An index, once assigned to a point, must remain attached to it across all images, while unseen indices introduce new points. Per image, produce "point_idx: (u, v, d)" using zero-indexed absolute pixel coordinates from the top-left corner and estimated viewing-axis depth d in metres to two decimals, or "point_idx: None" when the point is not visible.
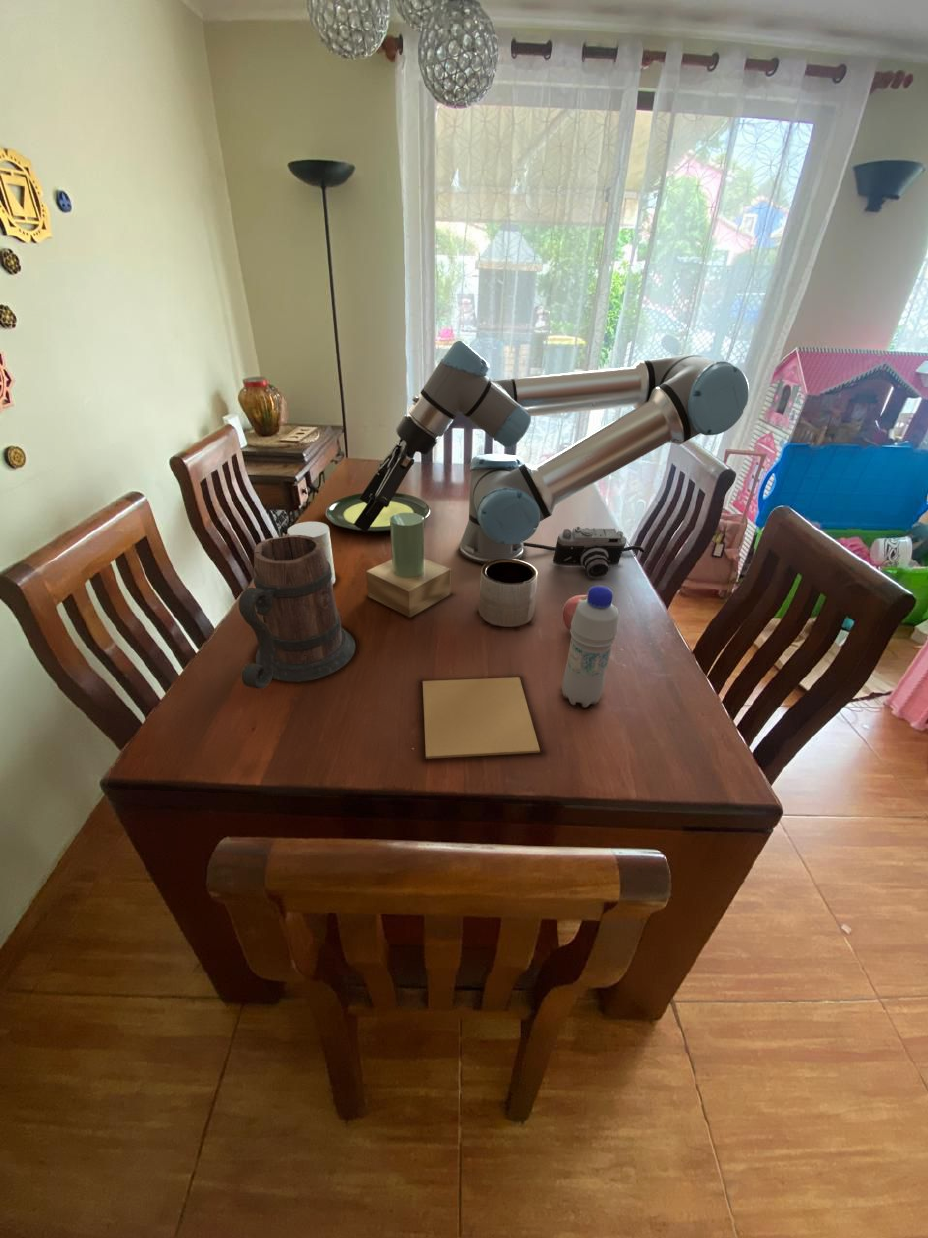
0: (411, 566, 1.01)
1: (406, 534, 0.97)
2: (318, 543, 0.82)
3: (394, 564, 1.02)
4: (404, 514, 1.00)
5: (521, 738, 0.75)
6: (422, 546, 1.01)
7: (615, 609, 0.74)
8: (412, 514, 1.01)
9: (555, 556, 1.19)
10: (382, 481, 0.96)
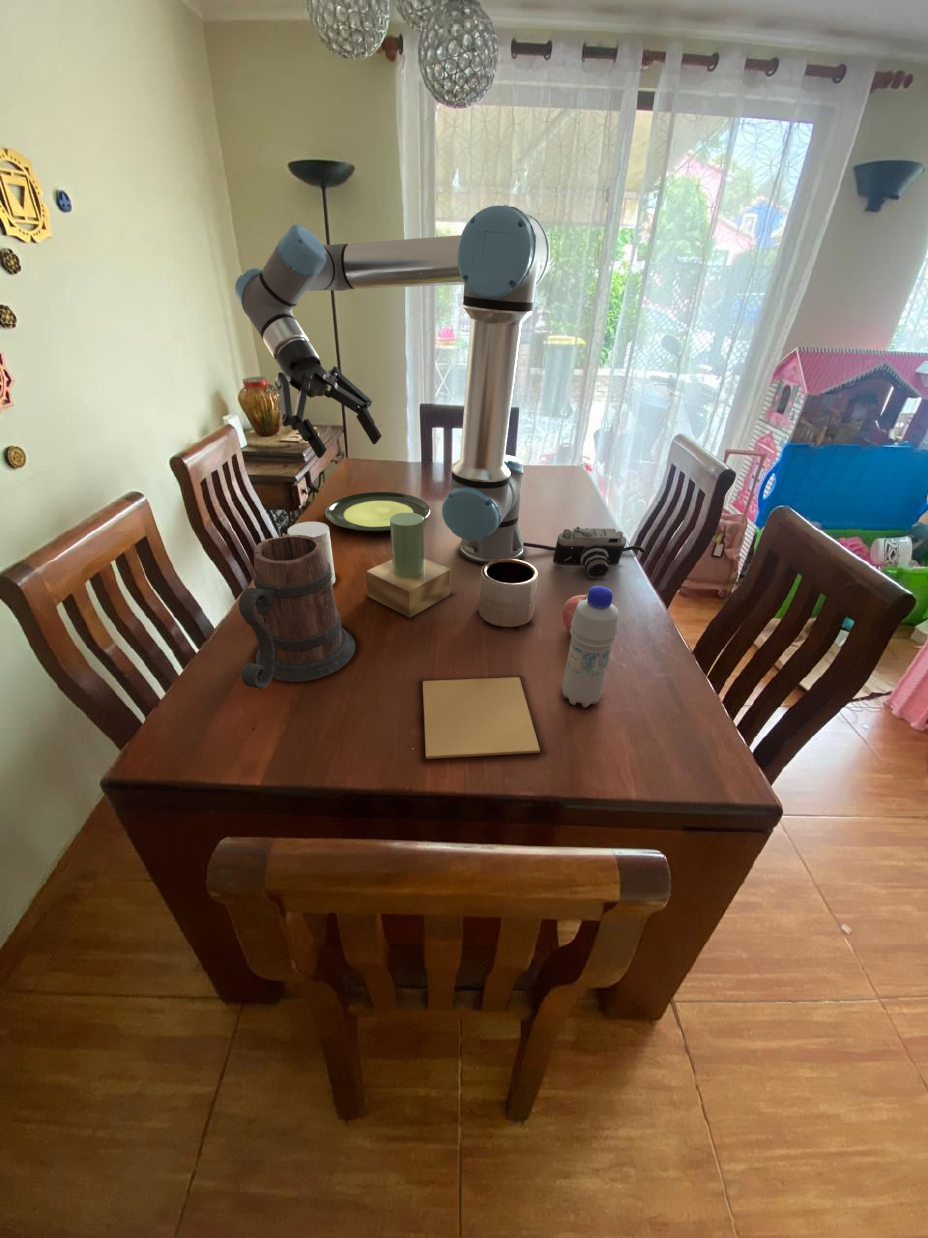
0: (411, 566, 1.01)
1: (406, 534, 0.97)
2: (318, 543, 0.82)
3: (394, 564, 1.02)
4: (404, 514, 1.00)
5: (521, 738, 0.75)
6: (422, 546, 1.01)
7: (615, 609, 0.74)
8: (412, 514, 1.01)
9: (555, 556, 1.19)
10: None
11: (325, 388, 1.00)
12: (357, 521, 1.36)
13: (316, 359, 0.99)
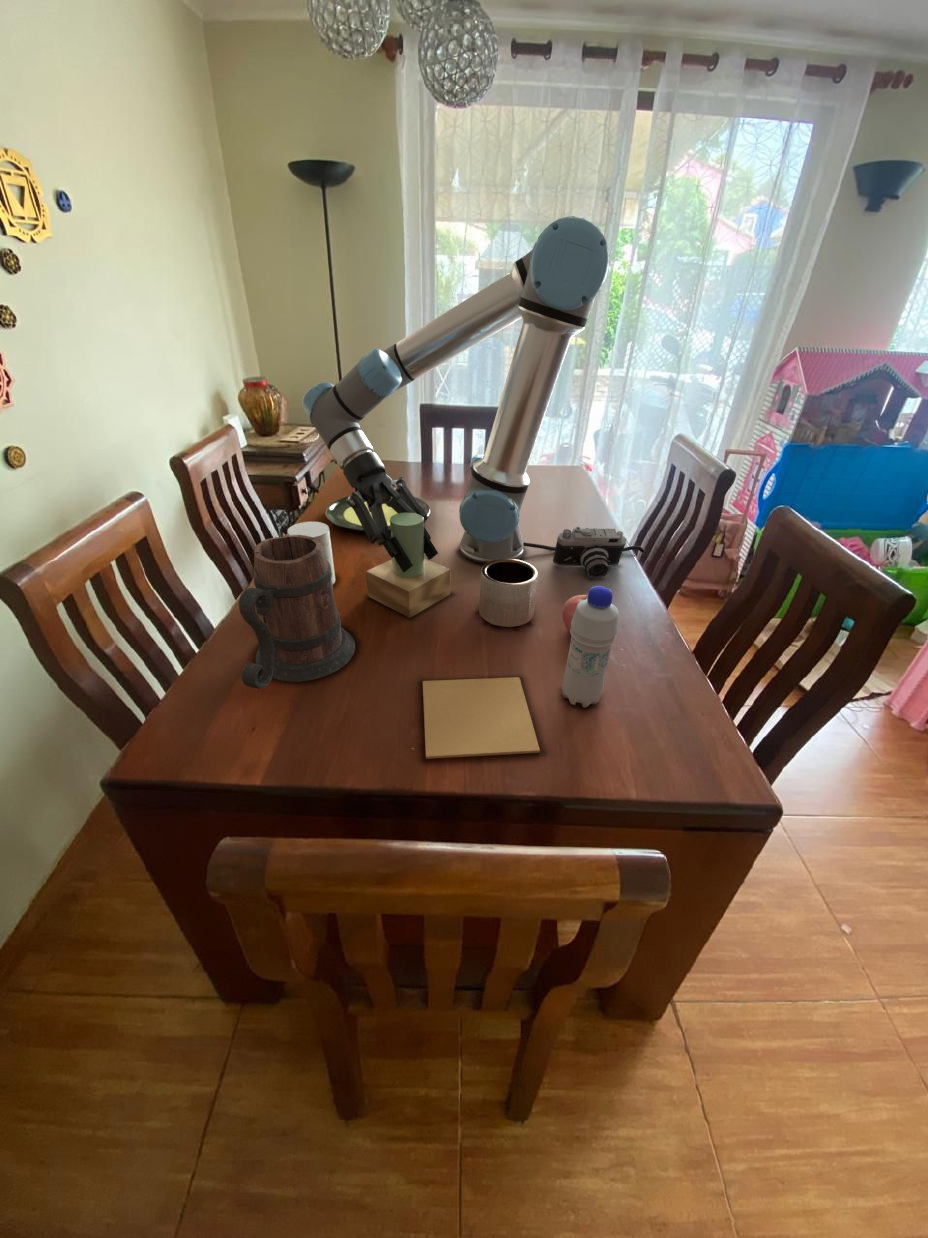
0: None
1: (406, 534, 0.97)
2: (318, 543, 0.82)
3: (394, 564, 1.02)
4: (404, 514, 1.00)
5: (521, 738, 0.75)
6: (422, 546, 1.01)
7: (615, 609, 0.74)
8: (412, 514, 1.01)
9: (555, 556, 1.19)
10: None
11: (390, 497, 1.01)
12: (357, 521, 1.36)
13: (382, 469, 1.00)
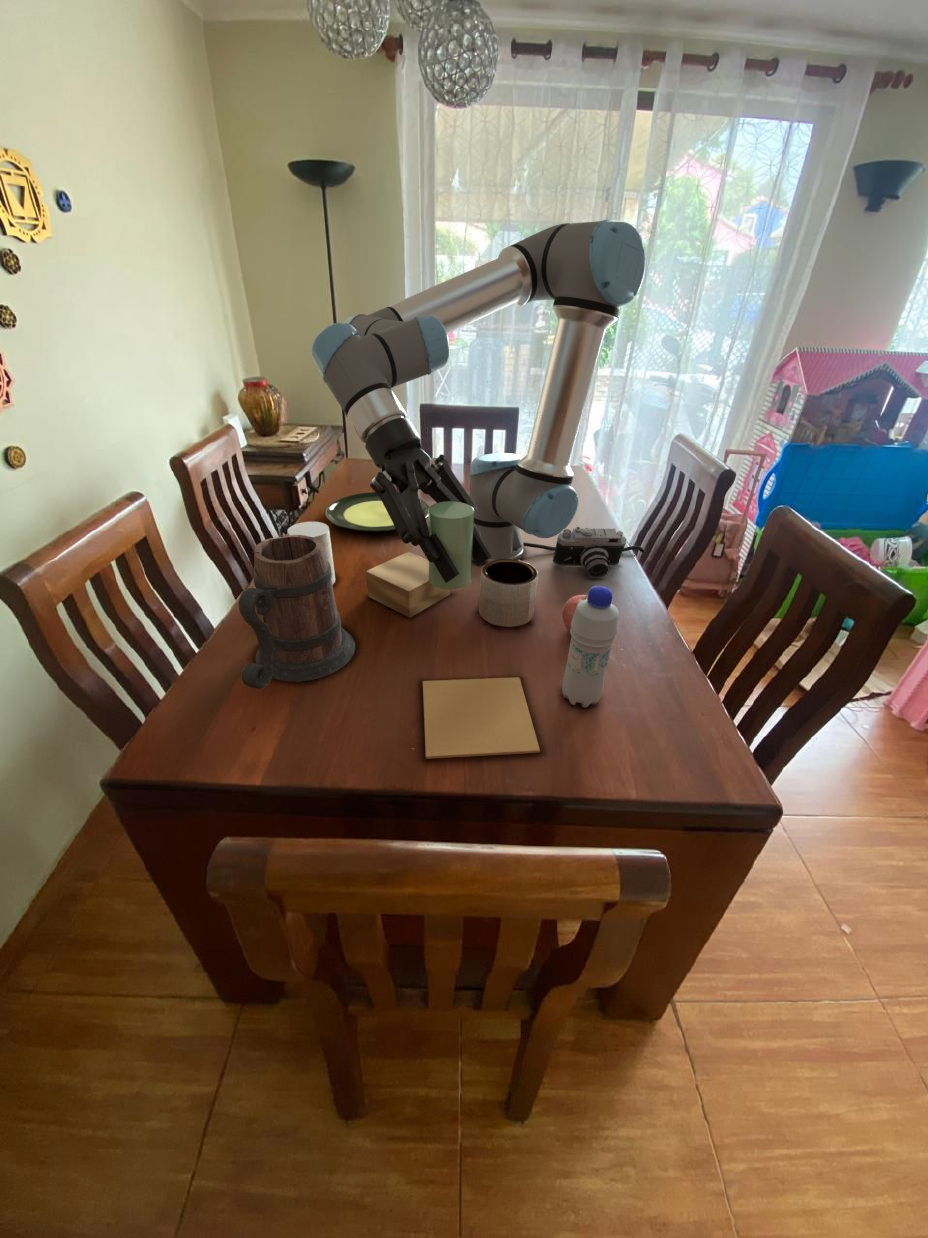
0: None
1: (451, 531, 0.70)
2: (318, 543, 0.82)
3: (432, 571, 0.75)
4: (447, 503, 0.74)
5: (521, 738, 0.75)
6: (471, 547, 0.74)
7: (615, 609, 0.74)
8: (458, 503, 0.74)
9: (555, 556, 1.19)
10: None
11: (428, 480, 0.75)
12: (357, 521, 1.36)
13: (418, 442, 0.74)
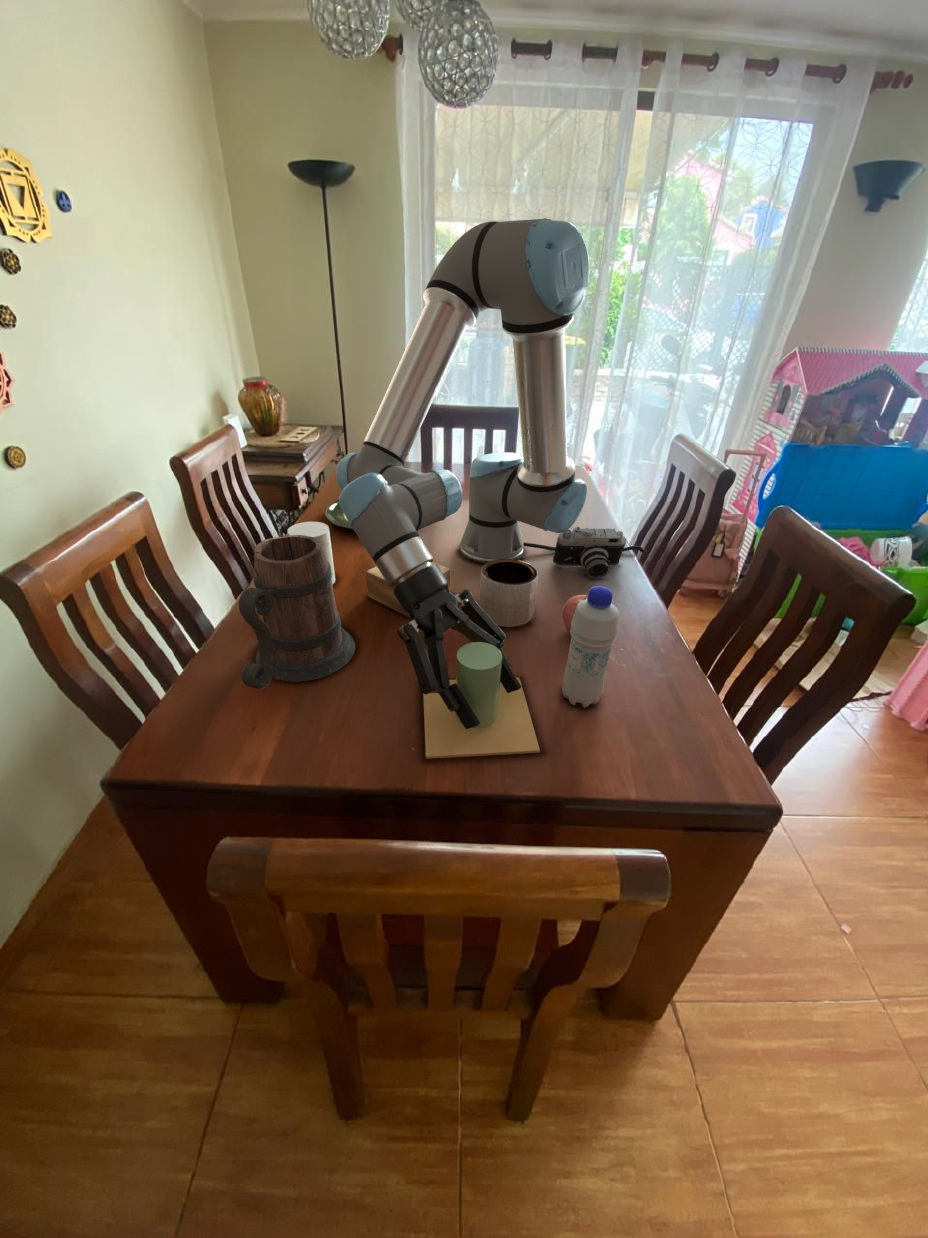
0: (484, 715, 0.75)
1: (480, 680, 0.71)
2: (318, 543, 0.82)
3: None
4: (474, 646, 0.74)
5: (521, 738, 0.75)
6: (498, 688, 0.75)
7: (615, 609, 0.74)
8: (485, 645, 0.75)
9: (555, 556, 1.19)
10: None
11: (456, 623, 0.75)
12: None
13: (445, 587, 0.74)
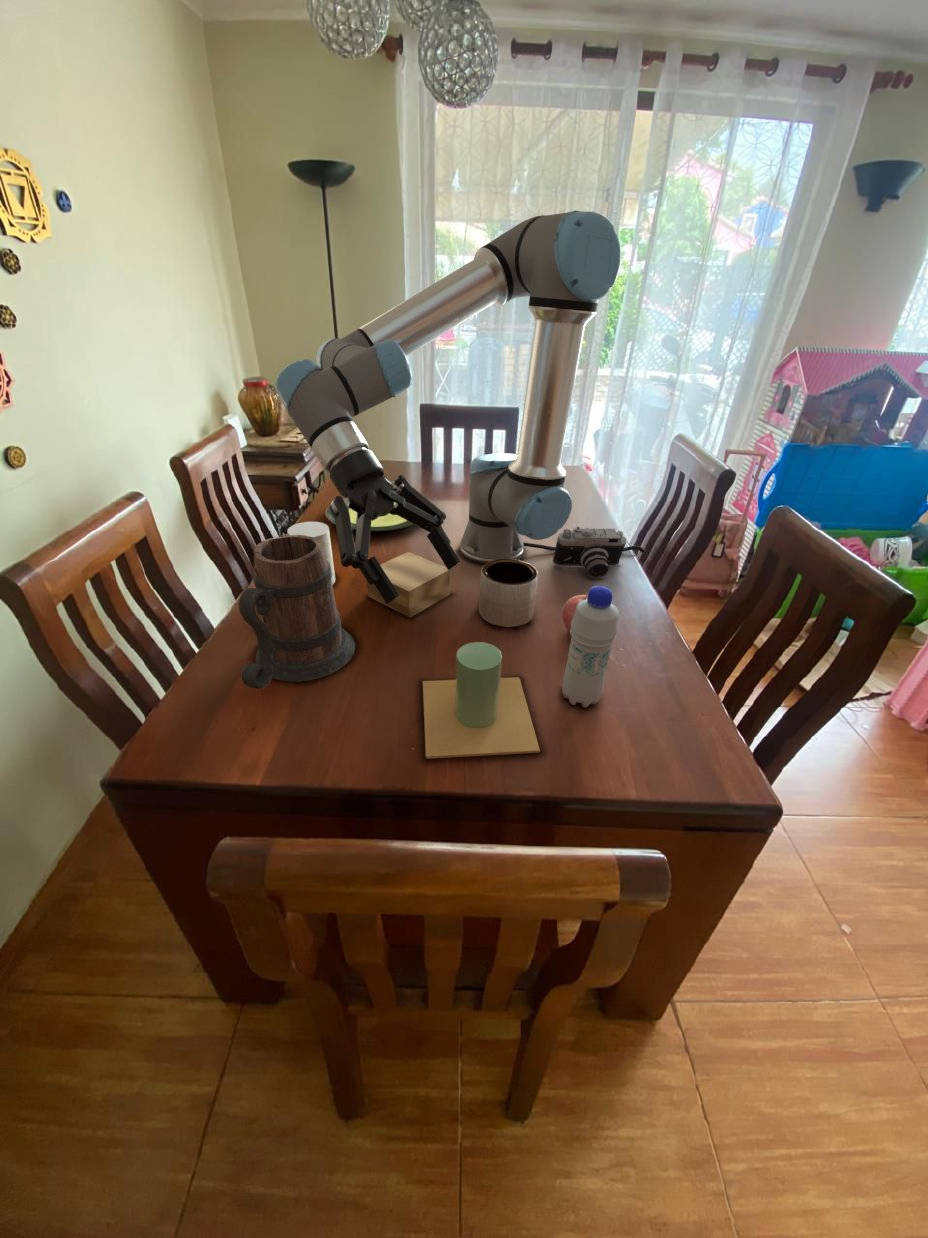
0: (484, 715, 0.75)
1: (480, 680, 0.71)
2: (318, 543, 0.82)
3: (460, 710, 0.76)
4: (474, 646, 0.74)
5: (521, 738, 0.75)
6: (498, 688, 0.75)
7: (615, 609, 0.74)
8: (485, 645, 0.75)
9: (555, 556, 1.19)
10: None
11: (391, 507, 0.78)
12: None
13: (380, 472, 0.77)
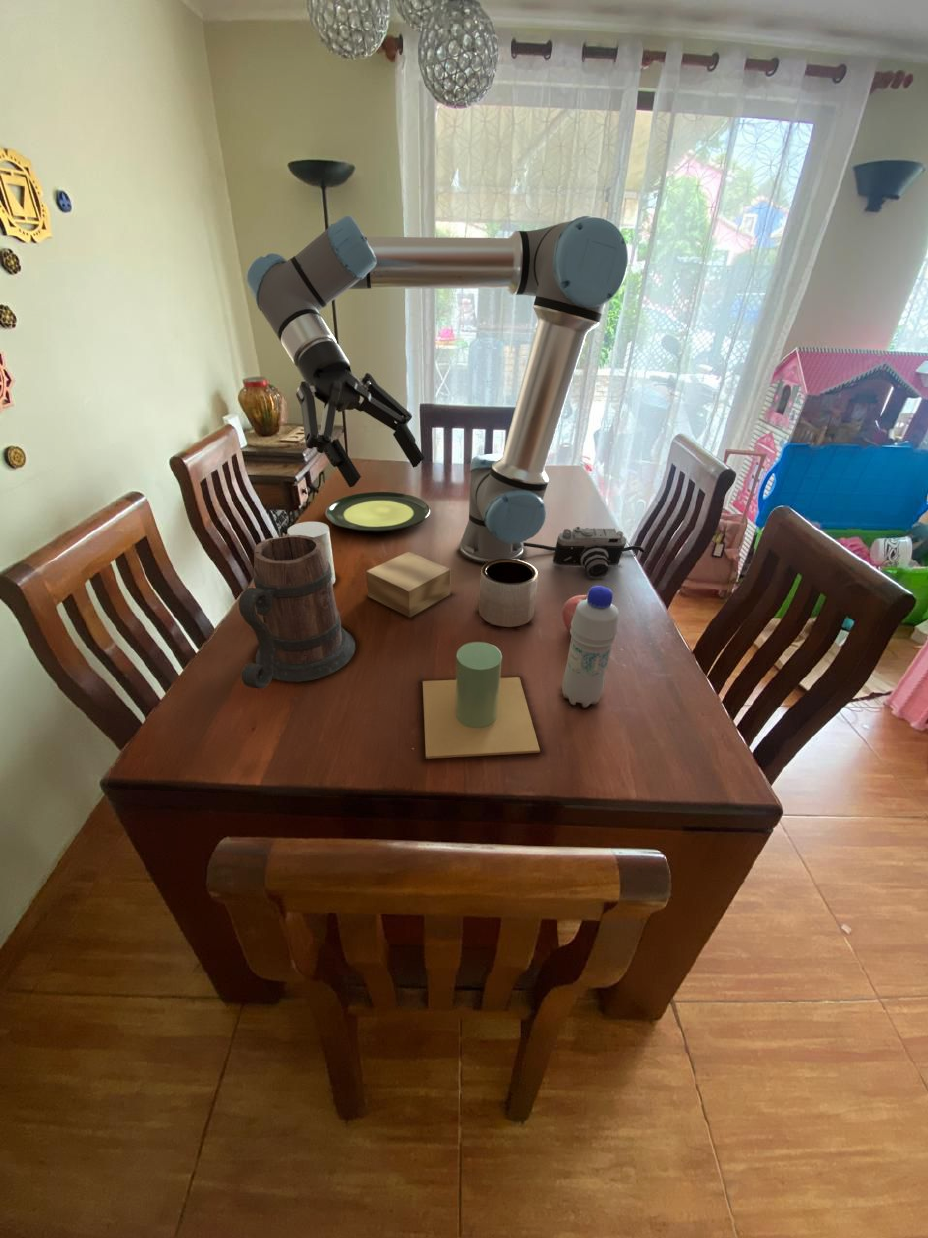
0: (484, 715, 0.75)
1: (480, 680, 0.71)
2: (318, 543, 0.82)
3: (460, 710, 0.76)
4: (474, 646, 0.74)
5: (521, 738, 0.75)
6: (498, 688, 0.75)
7: (615, 609, 0.74)
8: (485, 645, 0.75)
9: (555, 556, 1.19)
10: None
11: (357, 400, 0.82)
12: (357, 521, 1.36)
13: (346, 365, 0.81)
